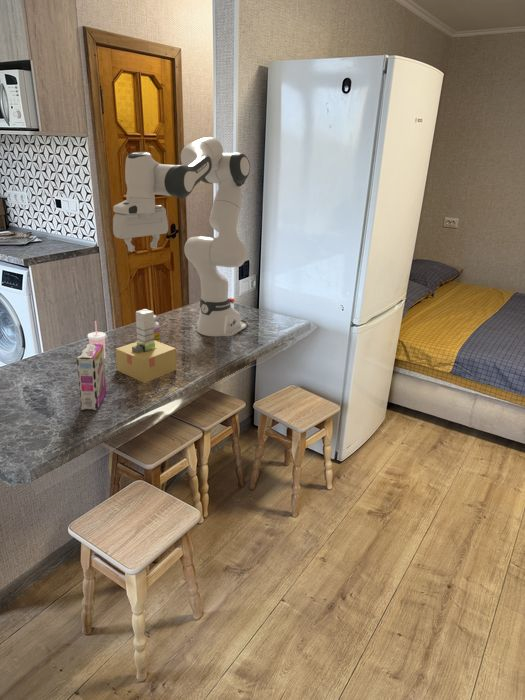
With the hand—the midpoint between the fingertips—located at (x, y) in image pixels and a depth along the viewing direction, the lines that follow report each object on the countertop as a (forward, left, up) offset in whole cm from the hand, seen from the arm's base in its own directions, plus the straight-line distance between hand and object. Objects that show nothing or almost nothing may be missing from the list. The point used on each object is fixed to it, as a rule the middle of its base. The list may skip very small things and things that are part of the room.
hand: (142, 249), depth 160 cm
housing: (+7, +8, -39) cm, 40 cm away
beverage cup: (+12, -12, -39) cm, 43 cm away
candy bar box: (+32, +14, -39) cm, 53 cm away
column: (+7, +8, -34) cm, 36 cm away
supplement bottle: (-7, -6, -39) cm, 40 cm away
